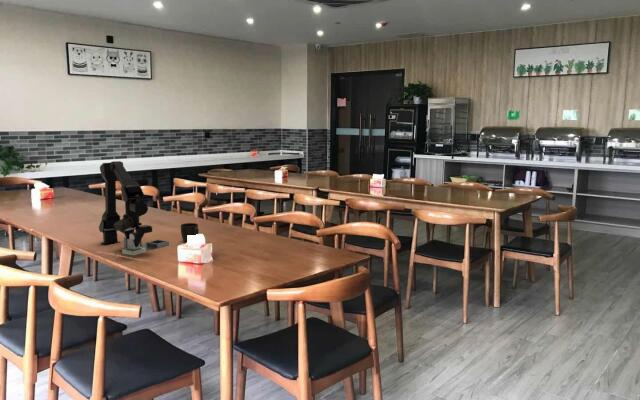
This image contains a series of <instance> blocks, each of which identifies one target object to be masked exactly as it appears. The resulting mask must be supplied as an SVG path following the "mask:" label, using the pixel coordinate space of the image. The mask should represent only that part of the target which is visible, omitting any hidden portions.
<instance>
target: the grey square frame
mask: <svg viewBox="0 0 640 400" xmlns="http://www.w3.org/2000/svg"><path fill="white" fill-rule="evenodd" d="M146 252H147V251H146V249H145V248H142V247H140V250H136V251H130V250H128V249H127V248H122V249H121V253H122V254H120V256H121V257H125V258H131V259H135V258H136V257H135V256H137V255H141V254H144V253H146Z"/></svg>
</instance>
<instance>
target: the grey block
mask: <svg viewBox="0 0 640 400" xmlns="http://www.w3.org/2000/svg"><path fill="white" fill-rule="evenodd" d="M129 237H130V238H129V239H127V249H128V250H130V251H136V250H140V244H139V246H138V247H136V246H135V238H134V235H133V234H132V233H130V234H129Z"/></svg>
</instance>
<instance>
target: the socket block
mask: <svg viewBox="0 0 640 400" xmlns="http://www.w3.org/2000/svg"><path fill="white" fill-rule="evenodd" d="M169 246H170V241H169V240H164V239H154V240H151V241H150V240H149V241H146V242H145V243H142V240H141V241H140V247H142V248H145V249H146V252H150V251H155V250H156V249H160V248H165V247H169ZM126 248H127V239H126V236H124V237H123V249H126Z"/></svg>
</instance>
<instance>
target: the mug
mask: <svg viewBox="0 0 640 400" xmlns="http://www.w3.org/2000/svg"><path fill="white" fill-rule="evenodd" d="M199 231H200V230H199V224H198V223H195V222H189V223H188V222H186V223H182V224H180V235H181V239H182V241H183V243H186V242H187V235H196V234H198V235H199ZM186 244H187V243H186Z"/></svg>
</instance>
